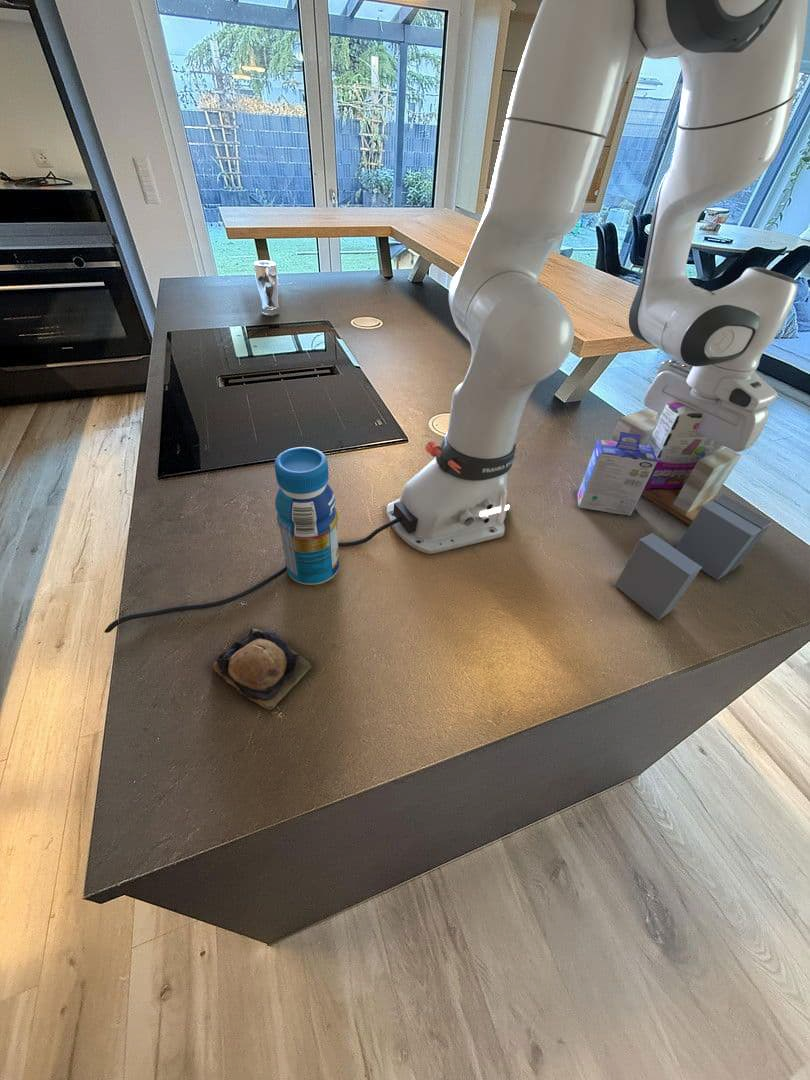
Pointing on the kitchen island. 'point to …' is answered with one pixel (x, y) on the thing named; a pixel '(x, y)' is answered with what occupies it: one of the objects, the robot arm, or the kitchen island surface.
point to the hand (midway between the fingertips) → (680, 447)
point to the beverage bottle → (307, 515)
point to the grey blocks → (690, 555)
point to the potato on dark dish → (261, 667)
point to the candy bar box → (676, 446)
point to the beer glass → (267, 284)
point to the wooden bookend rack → (698, 484)
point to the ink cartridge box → (616, 475)
